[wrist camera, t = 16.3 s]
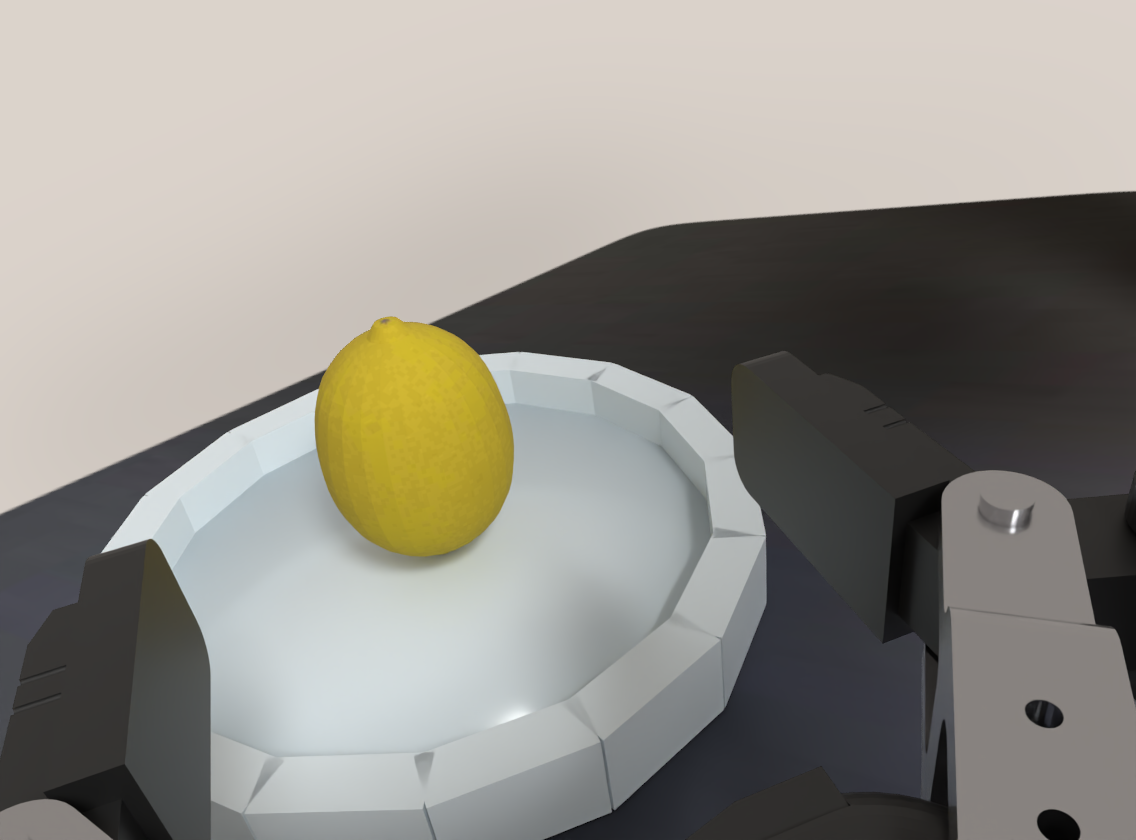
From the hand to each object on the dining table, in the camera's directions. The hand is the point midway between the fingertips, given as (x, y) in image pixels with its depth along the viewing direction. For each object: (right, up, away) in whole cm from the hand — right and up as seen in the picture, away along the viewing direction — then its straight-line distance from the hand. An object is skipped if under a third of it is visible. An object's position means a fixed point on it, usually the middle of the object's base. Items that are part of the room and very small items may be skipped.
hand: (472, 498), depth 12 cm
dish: (-3, -4, +16) cm, 17 cm away
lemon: (-3, -3, +16) cm, 16 cm away
